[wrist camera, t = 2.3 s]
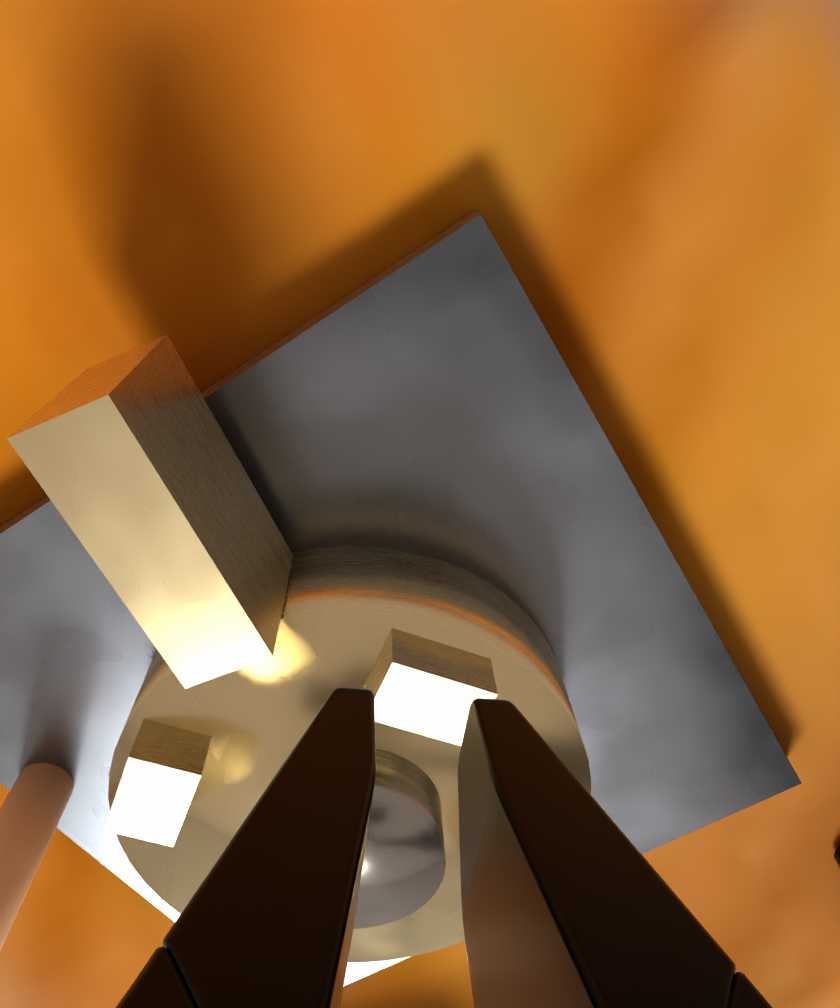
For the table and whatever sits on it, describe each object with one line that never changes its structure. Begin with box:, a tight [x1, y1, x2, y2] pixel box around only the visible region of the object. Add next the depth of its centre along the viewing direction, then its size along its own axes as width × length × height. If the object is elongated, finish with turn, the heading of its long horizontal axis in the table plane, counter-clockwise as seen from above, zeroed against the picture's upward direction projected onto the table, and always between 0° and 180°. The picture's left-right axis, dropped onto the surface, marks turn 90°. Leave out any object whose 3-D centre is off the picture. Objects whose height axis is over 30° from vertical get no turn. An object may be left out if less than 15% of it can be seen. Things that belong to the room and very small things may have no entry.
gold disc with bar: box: [7, 334, 591, 962], centre depth 19 cm, size 18×12×5 cm, turn 22°
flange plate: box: [0, 209, 801, 986], centre depth 23 cm, size 20×20×1 cm
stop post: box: [0, 763, 74, 951], centre depth 21 cm, size 2×2×6 cm
